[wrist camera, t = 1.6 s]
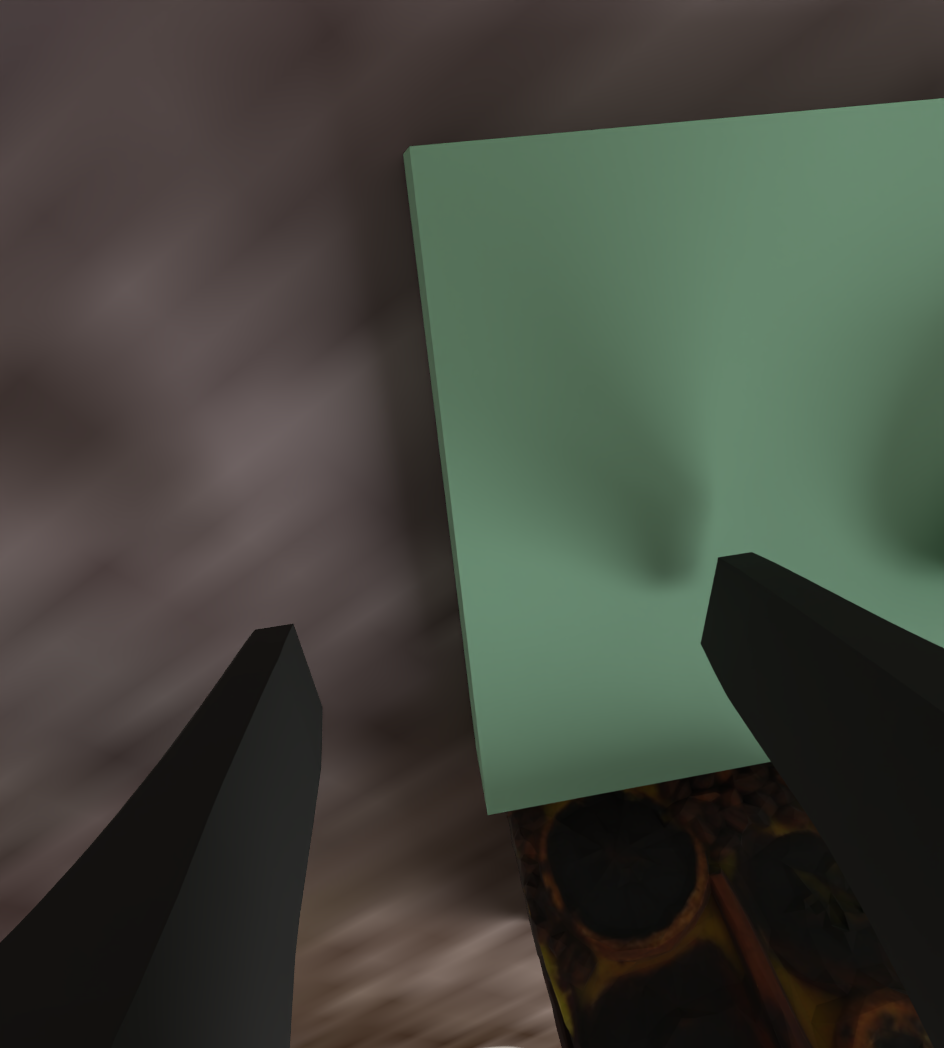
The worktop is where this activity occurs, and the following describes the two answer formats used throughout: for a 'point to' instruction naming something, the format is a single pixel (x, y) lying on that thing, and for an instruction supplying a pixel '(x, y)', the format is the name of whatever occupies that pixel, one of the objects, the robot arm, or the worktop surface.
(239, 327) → the worktop surface
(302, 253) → the worktop surface
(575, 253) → the green mat
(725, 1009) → the yellow cube with hole
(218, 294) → the worktop surface
